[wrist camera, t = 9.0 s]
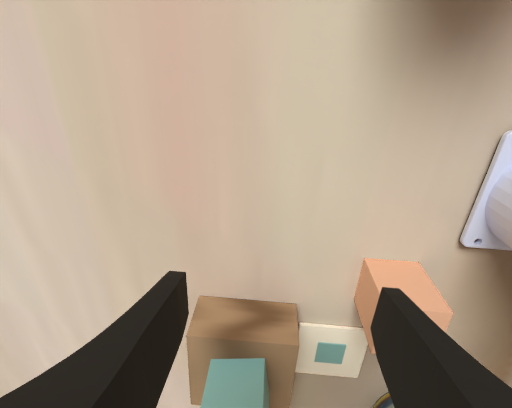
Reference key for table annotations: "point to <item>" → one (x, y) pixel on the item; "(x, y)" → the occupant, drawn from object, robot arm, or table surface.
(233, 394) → the teal block
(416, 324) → the robot arm
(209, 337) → the walnut block
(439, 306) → the terracotta block
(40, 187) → the table surface
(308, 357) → the card
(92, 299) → the table surface
